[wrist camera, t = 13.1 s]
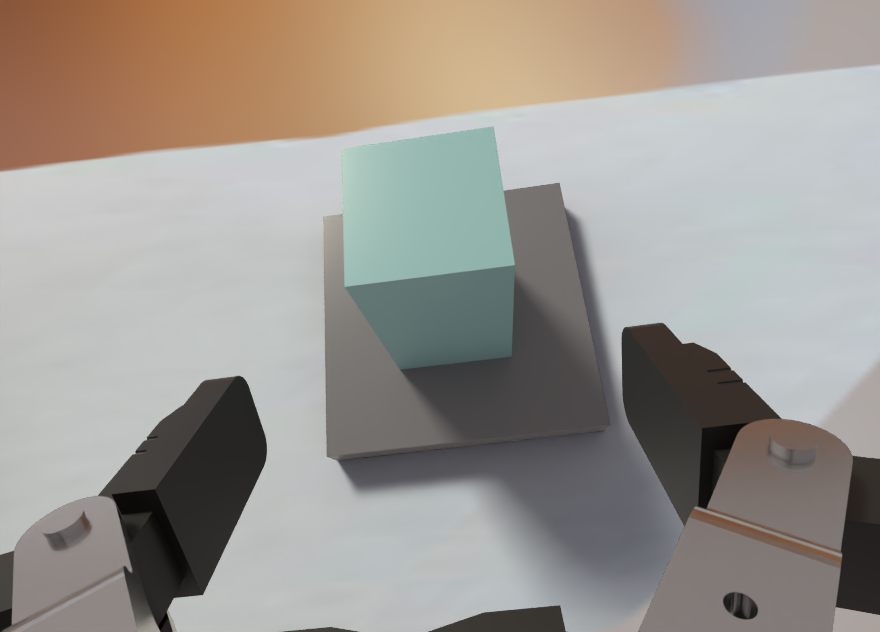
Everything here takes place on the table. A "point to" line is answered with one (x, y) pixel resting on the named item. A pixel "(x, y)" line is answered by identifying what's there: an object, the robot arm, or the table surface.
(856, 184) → the table surface
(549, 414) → the base plate
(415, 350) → the block
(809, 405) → the table surface
